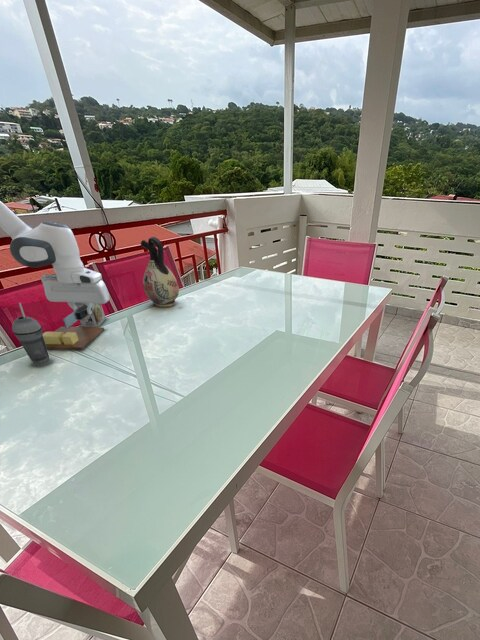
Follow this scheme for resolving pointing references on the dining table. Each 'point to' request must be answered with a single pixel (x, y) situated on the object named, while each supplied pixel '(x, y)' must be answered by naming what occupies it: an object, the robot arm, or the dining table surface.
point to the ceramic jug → (159, 276)
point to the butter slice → (70, 338)
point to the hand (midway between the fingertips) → (83, 313)
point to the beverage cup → (31, 339)
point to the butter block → (53, 337)
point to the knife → (75, 316)
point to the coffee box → (92, 315)
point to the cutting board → (83, 334)
